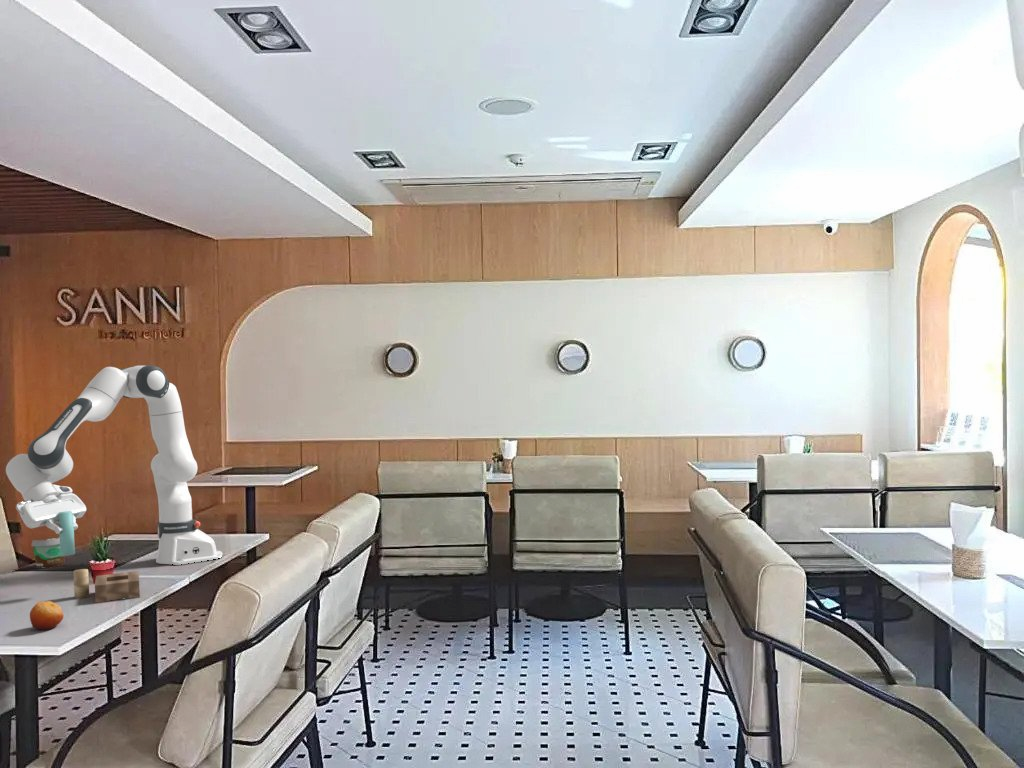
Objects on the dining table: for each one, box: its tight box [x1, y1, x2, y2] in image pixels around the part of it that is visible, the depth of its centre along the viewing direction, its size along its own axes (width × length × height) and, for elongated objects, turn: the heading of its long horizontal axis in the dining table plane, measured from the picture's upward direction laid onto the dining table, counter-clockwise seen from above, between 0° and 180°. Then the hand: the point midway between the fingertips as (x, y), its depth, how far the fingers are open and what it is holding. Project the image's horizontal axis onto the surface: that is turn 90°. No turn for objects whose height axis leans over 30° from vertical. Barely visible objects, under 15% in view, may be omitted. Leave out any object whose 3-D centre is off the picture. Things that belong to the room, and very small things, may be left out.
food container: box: [31, 537, 66, 568], centre depth 311 cm, size 12×6×10 cm, turn 148°
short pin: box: [73, 568, 90, 599], centre depth 266 cm, size 4×4×8 cm
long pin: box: [58, 511, 76, 557], centre depth 270 cm, size 4×4×13 cm
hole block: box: [94, 570, 141, 604], centre depth 267 cm, size 12×14×5 cm
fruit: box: [29, 600, 64, 630], centre depth 234 cm, size 8×8×8 cm
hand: (68, 530), depth 270 cm, fingers closed on long pin, 4 cm apart
